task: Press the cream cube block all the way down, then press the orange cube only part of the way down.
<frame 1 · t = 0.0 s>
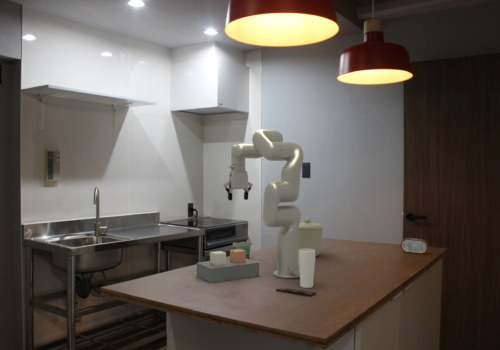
hand: (238, 199, 239), 31 cm above the kitchen island, tool pointing down, fingers open, 9 cm apart
food container: (244, 260, 233), on the kitchen island
canister: (307, 256, 248), on the kitchen island
drinking glass: (306, 287, 181), on the kitchen island
cream cube block: (218, 258, 196), point 8 cm above the kitchen island, slide at 0.0 cm
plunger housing: (227, 276, 199), on the kitchen island
orange cube: (237, 256, 201), point 8 cm above the kitchen island, slide at 0.0 cm
tin: (414, 253, 257), on the kitchen island
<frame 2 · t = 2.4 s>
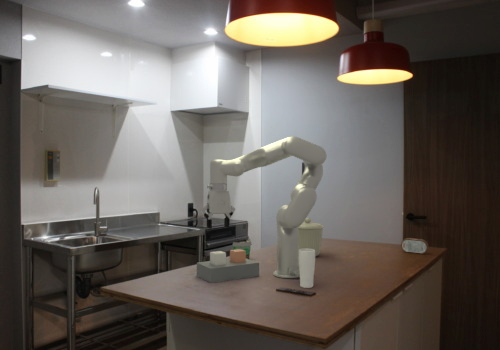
hand: (218, 227, 196), 22 cm above the kitchen island, tool pointing down, fingers open, 7 cm apart
nothing on the kitchen island moved.
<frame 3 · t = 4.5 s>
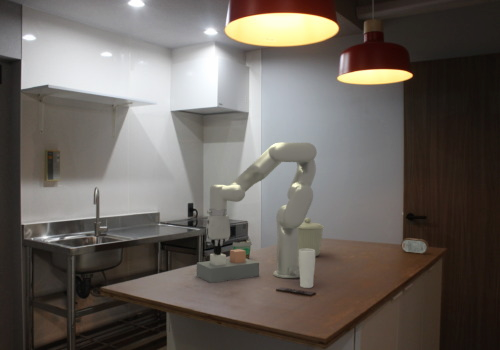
hand: (217, 254, 196), 10 cm above the kitchen island, tool pointing down, fingers closed
cream cube block: (218, 260, 196), point 7 cm above the kitchen island, slide at 0.9 cm, touching gripper
everything else where it was.
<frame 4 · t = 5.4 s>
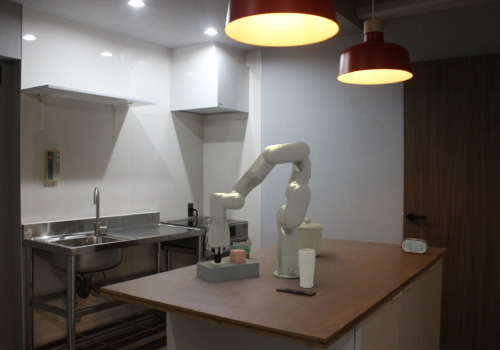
hand: (217, 262, 196), 7 cm above the kitchen island, tool pointing down, fingers closed
cream cube block: (217, 268, 196), point 4 cm above the kitchen island, slide at 4.5 cm, touching gripper
everything else where it was.
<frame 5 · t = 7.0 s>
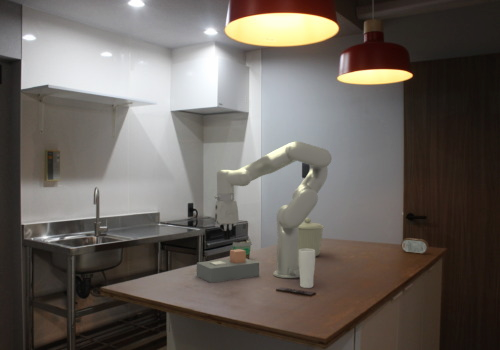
hand: (226, 239, 198), 17 cm above the kitchen island, tool pointing down, fingers closed
cream cube block: (217, 268, 196), point 4 cm above the kitchen island, slide at 4.5 cm
everything else where it was.
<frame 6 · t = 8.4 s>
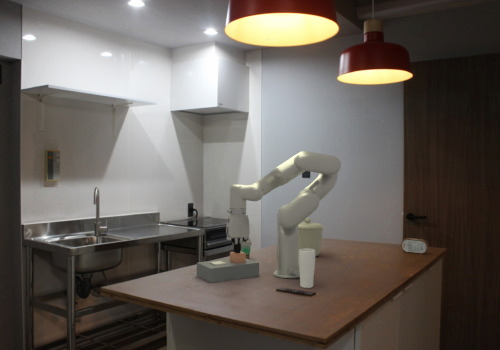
hand: (237, 252, 201), 10 cm above the kitchen island, tool pointing down, fingers closed
orange cube: (237, 258, 201), point 7 cm above the kitchen island, slide at 1.0 cm, touching gripper
everything else where it was.
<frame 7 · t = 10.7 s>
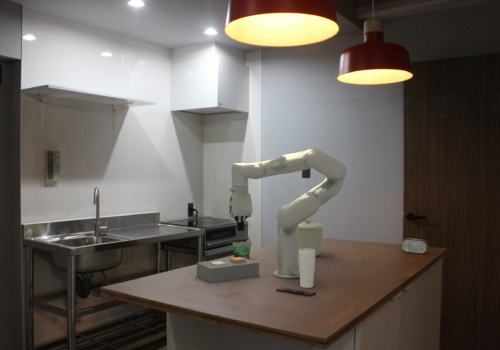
hand: (240, 230, 203), 20 cm above the kitchen island, tool pointing down, fingers closed
orange cube: (237, 264, 201), point 5 cm above the kitchen island, slide at 3.7 cm
everything else where it was.
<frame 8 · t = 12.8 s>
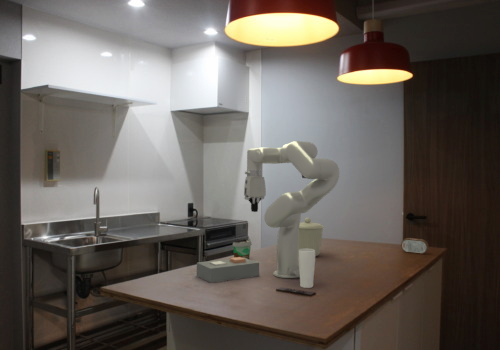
hand: (254, 211, 217), 27 cm above the kitchen island, tool pointing down, fingers closed
nothing on the kitchen island moved.
at the end: cream cube block slide at 4.5 cm; orange cube slide at 3.7 cm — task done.
